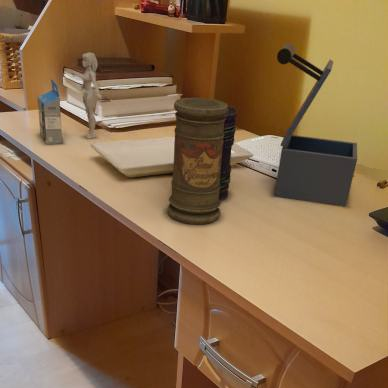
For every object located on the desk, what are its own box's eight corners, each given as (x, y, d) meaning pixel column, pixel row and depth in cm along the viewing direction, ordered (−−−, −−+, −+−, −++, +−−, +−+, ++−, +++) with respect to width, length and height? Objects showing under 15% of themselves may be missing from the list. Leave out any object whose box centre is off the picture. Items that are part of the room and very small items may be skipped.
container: (161, 207, 92) (164, 96, 81) (208, 203, 94) (216, 96, 84) (177, 227, 85) (183, 109, 74) (227, 222, 88) (239, 108, 77)
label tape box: (39, 134, 124) (33, 77, 117) (56, 133, 126) (51, 77, 119) (46, 144, 118) (40, 85, 111) (64, 143, 119) (59, 85, 112)
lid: (333, 61, 95) (291, 34, 94) (331, 70, 86) (284, 39, 85) (290, 132, 103) (250, 108, 103) (283, 147, 94) (240, 120, 94)
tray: (254, 169, 113) (256, 152, 111) (119, 185, 99) (118, 166, 97) (214, 147, 124) (216, 132, 122) (89, 159, 111) (88, 142, 109)
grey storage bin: (346, 187, 107) (357, 142, 101) (345, 206, 97) (357, 159, 92) (281, 178, 109) (288, 134, 104) (274, 196, 100) (281, 149, 95)
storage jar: (214, 182, 104) (221, 102, 95) (238, 199, 97) (247, 114, 88) (168, 187, 100) (171, 103, 91) (190, 205, 93) (195, 116, 84)
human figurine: (77, 131, 129) (71, 48, 118) (91, 130, 130) (87, 48, 120) (94, 144, 121) (89, 56, 110) (109, 143, 122) (106, 56, 112)
